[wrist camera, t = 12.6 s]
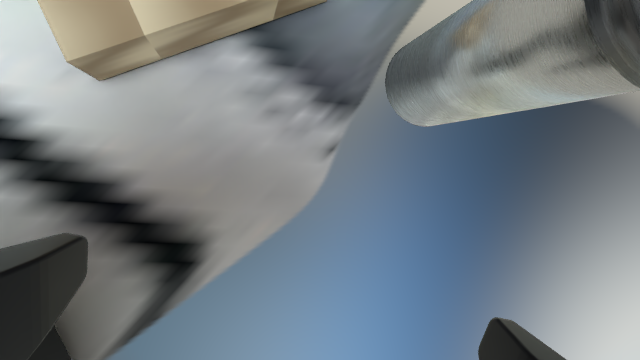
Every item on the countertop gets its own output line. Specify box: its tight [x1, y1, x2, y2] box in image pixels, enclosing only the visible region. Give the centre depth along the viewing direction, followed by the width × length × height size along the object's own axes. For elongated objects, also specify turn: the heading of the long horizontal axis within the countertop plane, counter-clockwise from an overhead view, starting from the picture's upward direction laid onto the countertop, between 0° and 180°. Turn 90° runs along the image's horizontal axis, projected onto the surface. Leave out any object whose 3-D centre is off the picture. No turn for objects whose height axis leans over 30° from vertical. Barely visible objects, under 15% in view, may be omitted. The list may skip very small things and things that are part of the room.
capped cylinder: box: [385, 0, 640, 127], centre depth 14 cm, size 5×5×13 cm
